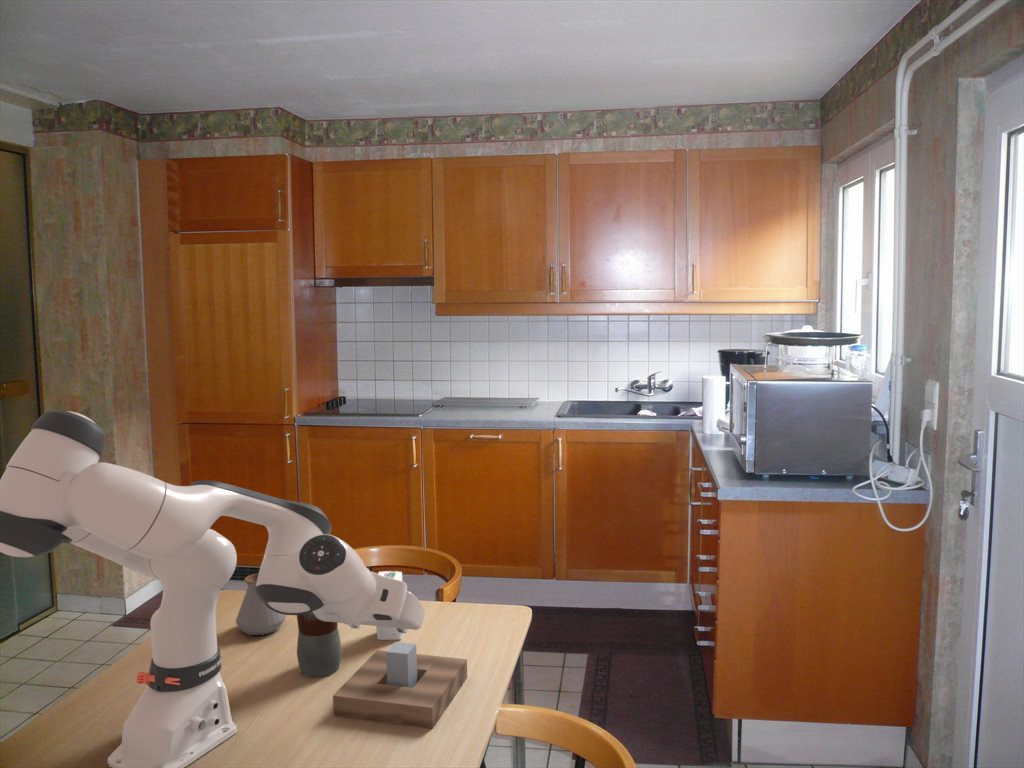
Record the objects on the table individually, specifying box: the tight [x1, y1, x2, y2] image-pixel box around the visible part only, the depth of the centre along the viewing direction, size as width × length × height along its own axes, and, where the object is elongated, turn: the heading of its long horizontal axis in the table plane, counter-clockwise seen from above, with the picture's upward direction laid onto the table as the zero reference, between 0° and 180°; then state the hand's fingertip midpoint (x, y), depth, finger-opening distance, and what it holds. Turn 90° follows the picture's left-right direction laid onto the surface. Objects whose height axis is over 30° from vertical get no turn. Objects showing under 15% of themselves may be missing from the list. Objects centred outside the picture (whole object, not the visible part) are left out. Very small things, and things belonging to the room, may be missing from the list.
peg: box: [385, 641, 418, 688], centre depth 162 cm, size 4×4×10 cm
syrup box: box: [375, 570, 405, 641], centre depth 191 cm, size 6×6×14 cm
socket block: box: [332, 649, 468, 729], centre depth 163 cm, size 20×20×4 cm
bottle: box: [296, 612, 343, 678], centre depth 174 cm, size 9×9×30 cm
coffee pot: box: [235, 572, 287, 636], centre depth 196 cm, size 21×12×15 cm, turn 95°
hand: (380, 626), depth 152 cm, fingers open, 8 cm apart
